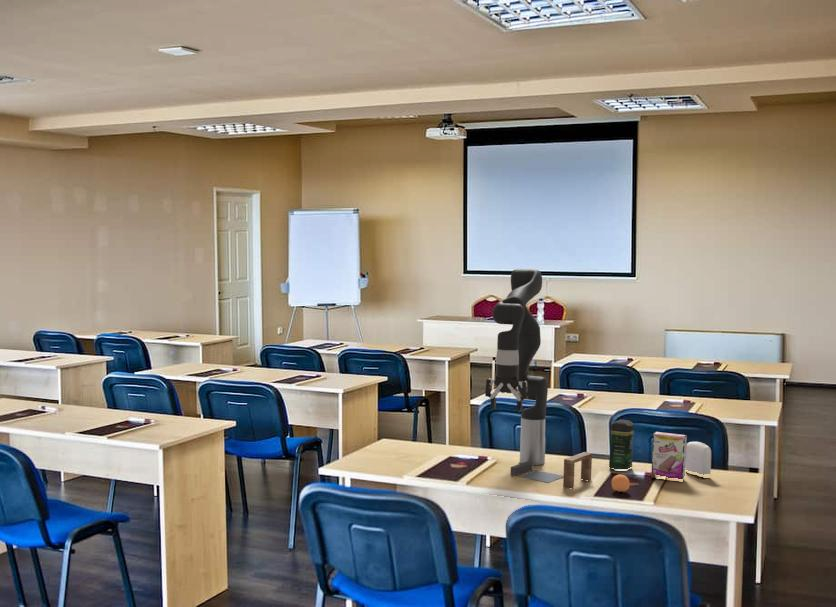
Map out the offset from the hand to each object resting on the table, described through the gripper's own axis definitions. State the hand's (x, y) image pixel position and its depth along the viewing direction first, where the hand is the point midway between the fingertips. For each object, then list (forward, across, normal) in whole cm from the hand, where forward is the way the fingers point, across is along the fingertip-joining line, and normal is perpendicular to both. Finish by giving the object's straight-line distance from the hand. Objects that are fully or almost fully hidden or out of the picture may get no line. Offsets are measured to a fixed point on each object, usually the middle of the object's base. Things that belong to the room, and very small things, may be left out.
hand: (506, 410), depth 290 cm
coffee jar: (+27, -32, -45) cm, 62 cm away
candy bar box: (+27, -50, -38) cm, 68 cm away
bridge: (+27, -21, -17) cm, 38 cm away
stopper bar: (+27, 0, -23) cm, 35 cm away
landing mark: (+27, -8, -21) cm, 35 cm away
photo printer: (+27, -59, -49) cm, 81 cm away
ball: (+24, -37, -13) cm, 46 cm away
